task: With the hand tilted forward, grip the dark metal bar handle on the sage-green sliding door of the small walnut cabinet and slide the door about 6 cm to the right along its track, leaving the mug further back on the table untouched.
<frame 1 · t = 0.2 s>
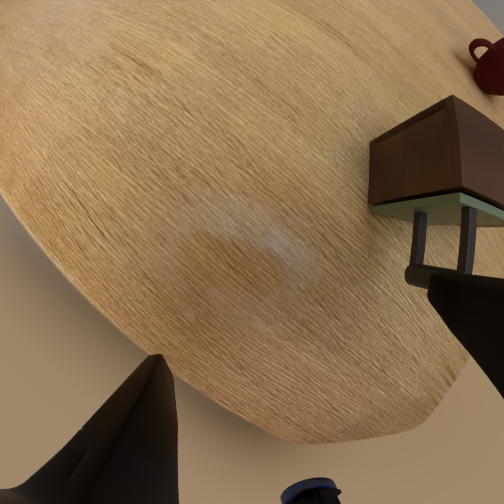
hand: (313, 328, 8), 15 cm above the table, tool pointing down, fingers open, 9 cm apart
cabinet: (425, 187, 24), on the table
door: (438, 248, 17), point 6 cm above the table, slide at 0.0 cm
mug: (475, 78, 24), on the table
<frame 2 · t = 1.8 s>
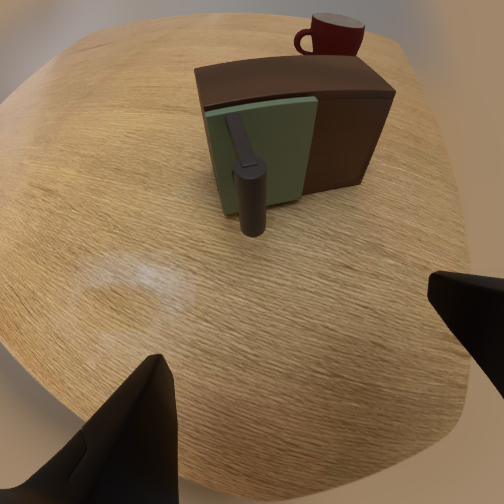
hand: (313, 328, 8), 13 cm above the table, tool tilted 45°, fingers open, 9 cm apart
cabinet: (286, 173, 27), on the table
door: (273, 189, 19), point 6 cm above the table, slide at 0.0 cm
mug: (324, 71, 37), on the table
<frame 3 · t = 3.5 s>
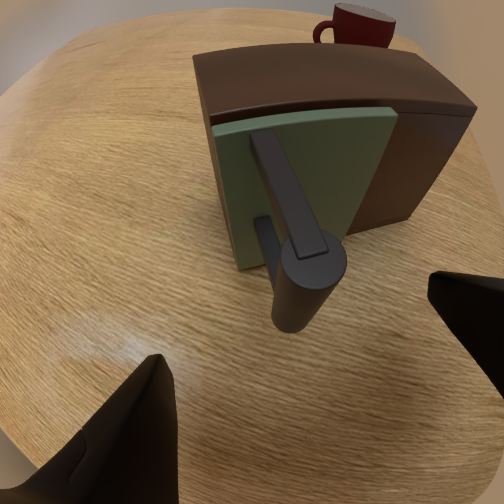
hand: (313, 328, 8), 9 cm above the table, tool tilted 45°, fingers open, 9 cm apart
cabinet: (318, 205, 20), on the table
door: (320, 252, 12), point 6 cm above the table, slide at 0.0 cm
mug: (346, 71, 31), on the table
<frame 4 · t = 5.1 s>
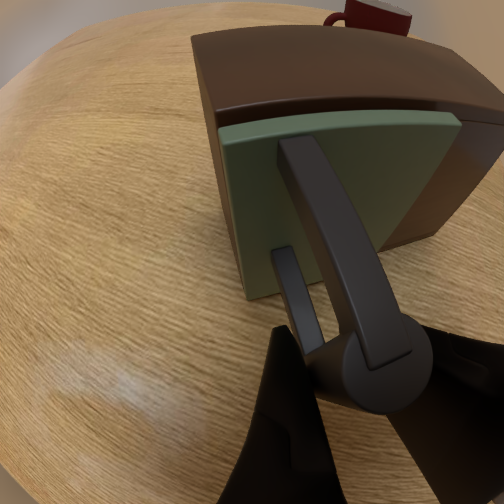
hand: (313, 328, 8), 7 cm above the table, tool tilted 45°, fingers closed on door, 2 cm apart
cabinet: (337, 219, 18), on the table
door: (355, 294, 9), point 6 cm above the table, slide at 0.0 cm, touching gripper
mug: (358, 67, 28), on the table
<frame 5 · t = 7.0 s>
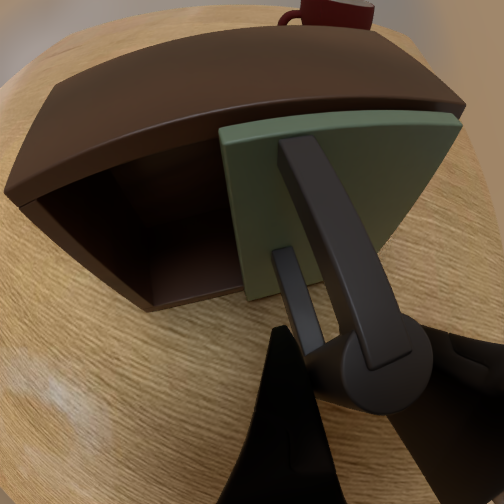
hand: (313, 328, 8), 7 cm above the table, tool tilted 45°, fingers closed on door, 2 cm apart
cabinet: (250, 240, 17), on the table
door: (355, 295, 9), point 6 cm above the table, slide at 5.9 cm, touching gripper
mug: (320, 67, 28), on the table
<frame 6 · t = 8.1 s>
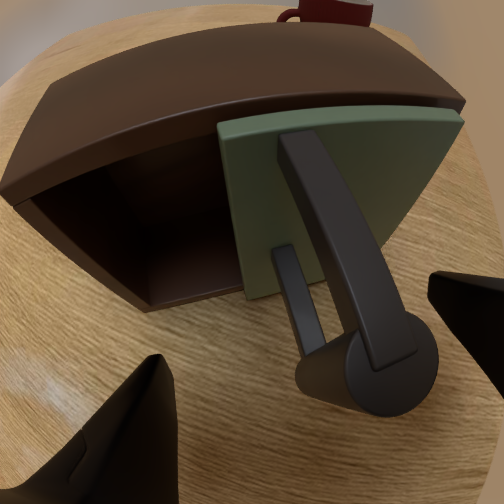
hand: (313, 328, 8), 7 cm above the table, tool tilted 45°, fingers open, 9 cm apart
cabinet: (248, 239, 17), on the table
door: (357, 294, 9), point 6 cm above the table, slide at 6.0 cm
mug: (318, 65, 27), on the table
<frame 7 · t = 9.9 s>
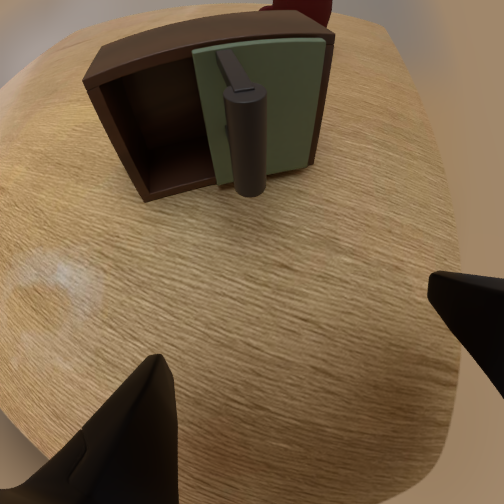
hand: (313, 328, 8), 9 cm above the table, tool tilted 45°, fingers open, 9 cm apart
cabinet: (222, 155, 22), on the table
door: (275, 144, 15), point 6 cm above the table, slide at 6.0 cm
mug: (291, 50, 33), on the table
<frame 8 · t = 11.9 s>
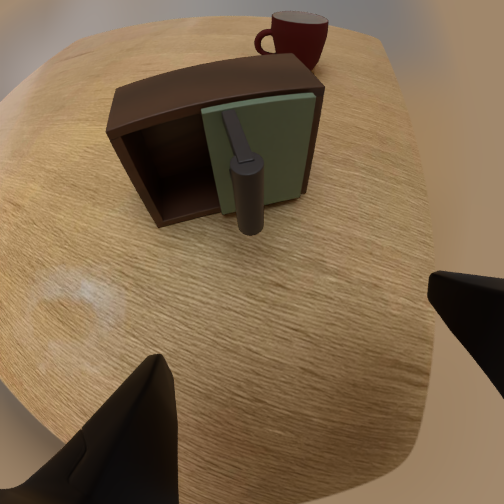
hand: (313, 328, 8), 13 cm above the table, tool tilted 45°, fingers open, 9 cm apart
cabinet: (226, 184, 26), on the table
door: (271, 187, 18), point 6 cm above the table, slide at 6.0 cm
mug: (289, 71, 37), on the table
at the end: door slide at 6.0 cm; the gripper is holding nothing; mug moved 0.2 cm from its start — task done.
